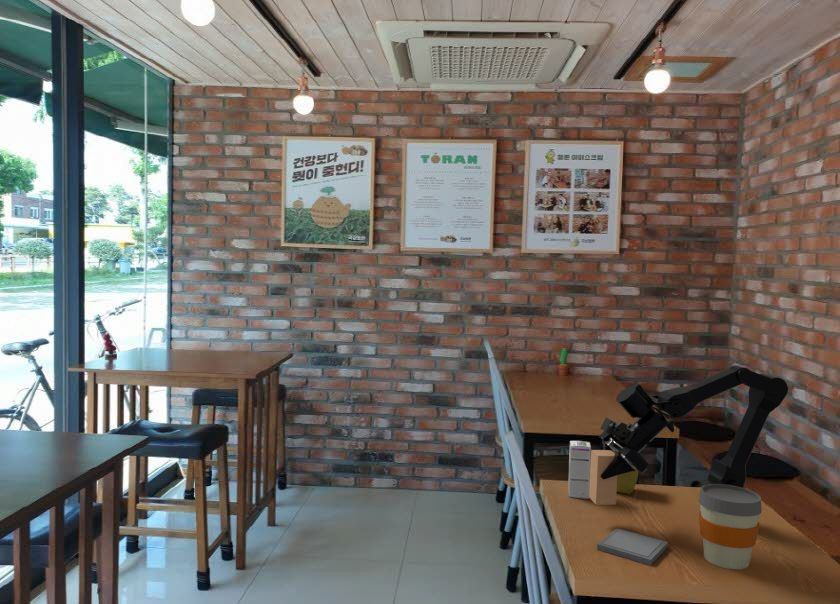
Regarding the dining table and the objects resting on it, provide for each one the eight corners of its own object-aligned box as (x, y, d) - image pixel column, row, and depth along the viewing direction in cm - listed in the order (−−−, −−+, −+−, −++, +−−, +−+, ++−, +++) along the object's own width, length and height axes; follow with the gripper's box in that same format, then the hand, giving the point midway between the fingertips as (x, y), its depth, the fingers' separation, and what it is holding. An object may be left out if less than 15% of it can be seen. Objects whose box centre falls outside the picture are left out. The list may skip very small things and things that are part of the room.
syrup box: (589, 499, 180) (592, 447, 180) (567, 497, 182) (570, 445, 181) (588, 492, 186) (591, 441, 185) (567, 490, 187) (569, 439, 186)
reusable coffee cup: (755, 579, 136) (759, 508, 136) (690, 562, 143) (694, 495, 142) (760, 557, 147) (765, 491, 146) (700, 543, 154) (704, 479, 153)
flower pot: (638, 487, 191) (639, 457, 191) (637, 497, 183) (639, 465, 183) (606, 483, 194) (608, 453, 194) (605, 493, 186) (606, 461, 185)
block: (608, 497, 166) (610, 450, 165) (615, 504, 161) (618, 456, 160) (589, 497, 165) (591, 449, 165) (595, 504, 160) (598, 455, 160)
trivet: (667, 547, 151) (668, 541, 151) (650, 565, 141) (650, 559, 141) (616, 533, 158) (616, 527, 158) (596, 549, 148) (597, 543, 148)
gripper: (609, 399, 171) (565, 441, 171) (637, 416, 153) (588, 463, 152) (637, 430, 172) (593, 471, 172) (668, 450, 154) (620, 496, 153)
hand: (598, 474), depth 162 cm, fingers closed on block, 5 cm apart
